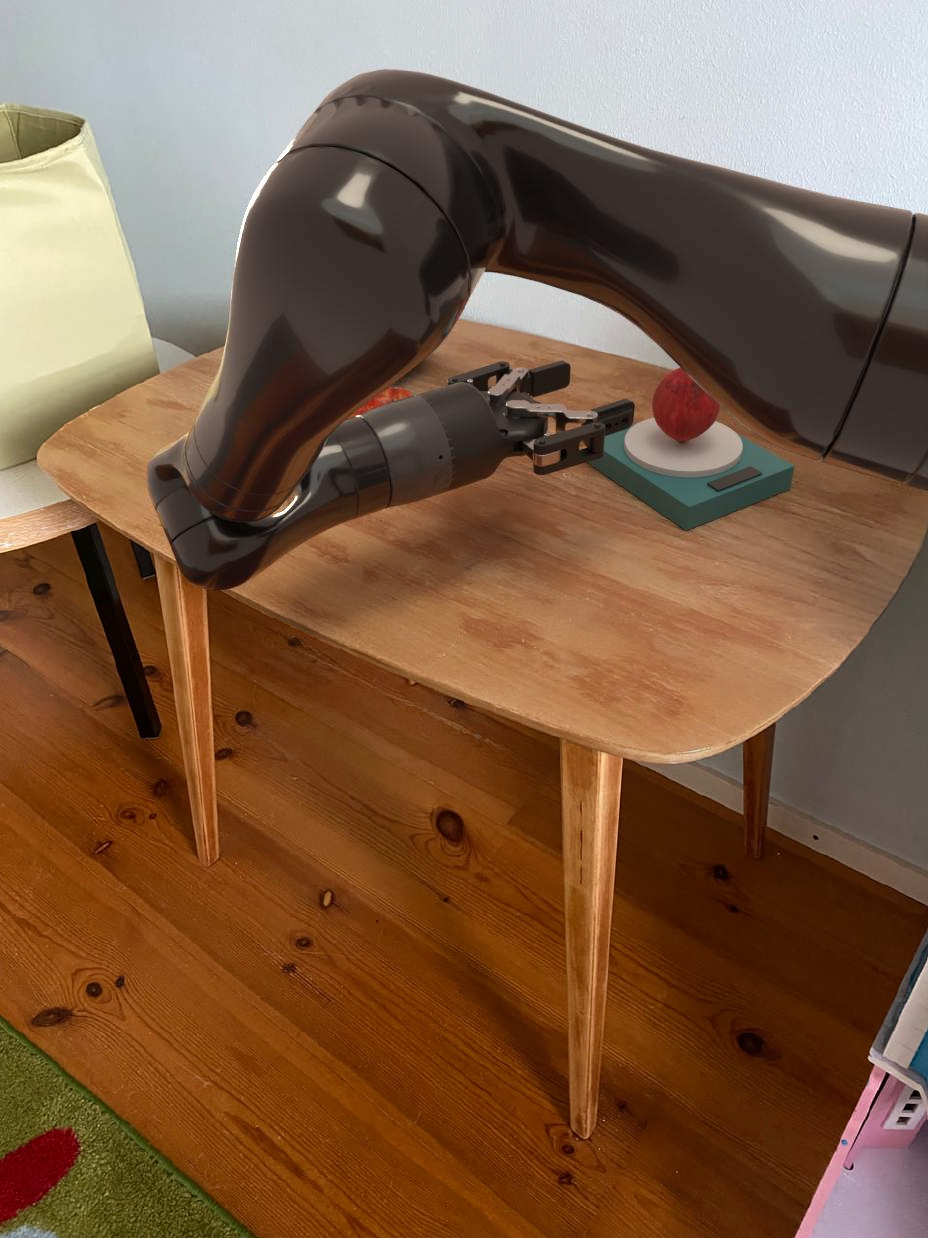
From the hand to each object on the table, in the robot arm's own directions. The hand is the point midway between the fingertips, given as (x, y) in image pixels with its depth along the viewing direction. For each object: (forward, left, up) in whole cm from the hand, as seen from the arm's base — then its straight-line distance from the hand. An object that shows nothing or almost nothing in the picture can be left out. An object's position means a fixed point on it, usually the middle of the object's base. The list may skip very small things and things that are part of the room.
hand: (598, 391), depth 80 cm
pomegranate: (+18, +11, -11) cm, 24 cm away
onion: (0, -10, -8) cm, 13 cm away
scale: (-1, -10, -11) cm, 15 cm away
